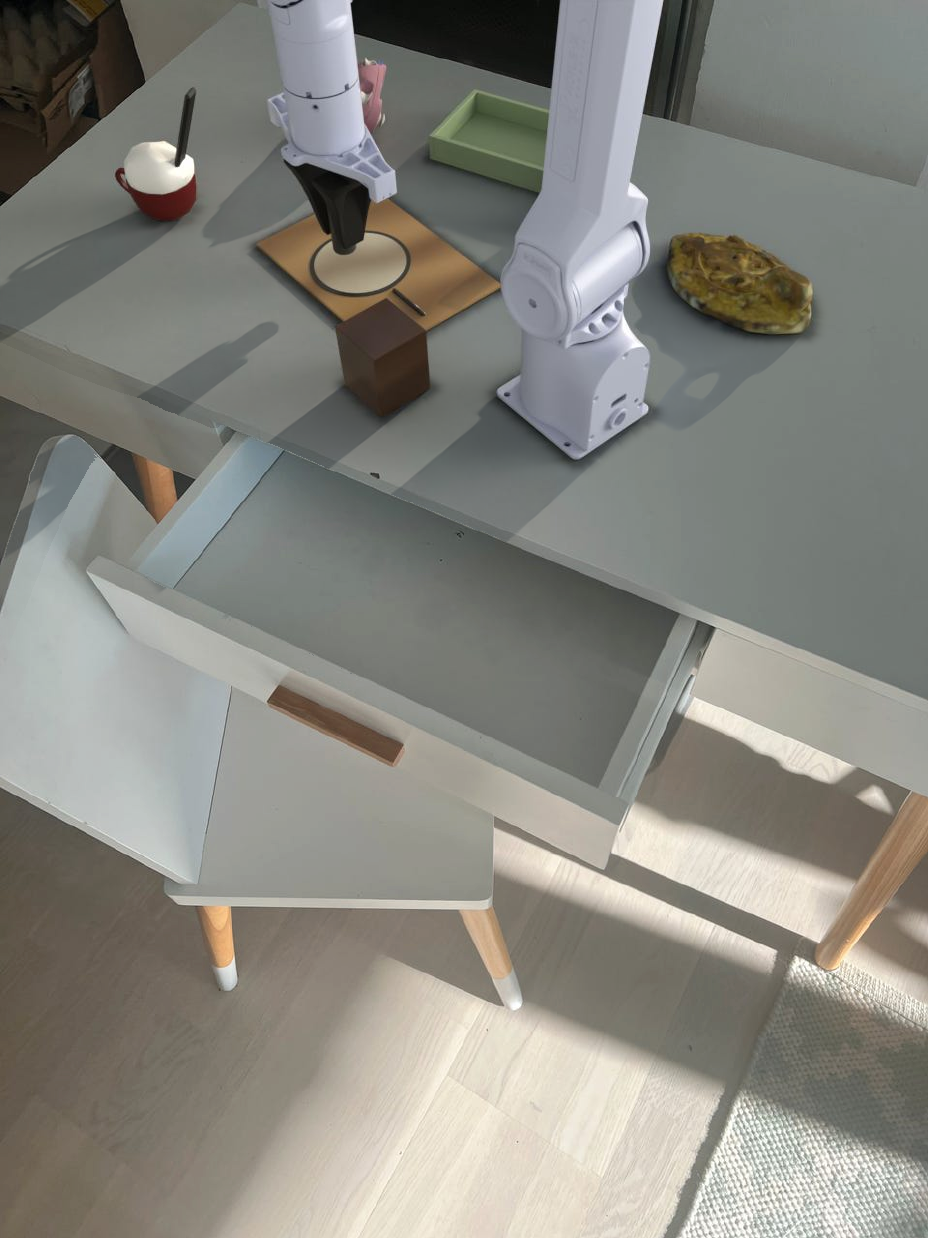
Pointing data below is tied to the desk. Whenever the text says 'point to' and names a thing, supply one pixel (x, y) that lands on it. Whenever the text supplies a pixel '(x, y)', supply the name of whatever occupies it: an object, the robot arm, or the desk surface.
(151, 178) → the cocoa
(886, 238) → the desk surface
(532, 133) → the tray
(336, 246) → the marker
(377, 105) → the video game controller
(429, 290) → the drawing pad
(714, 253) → the stuffed pastry
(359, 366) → the tall brown wooden block
